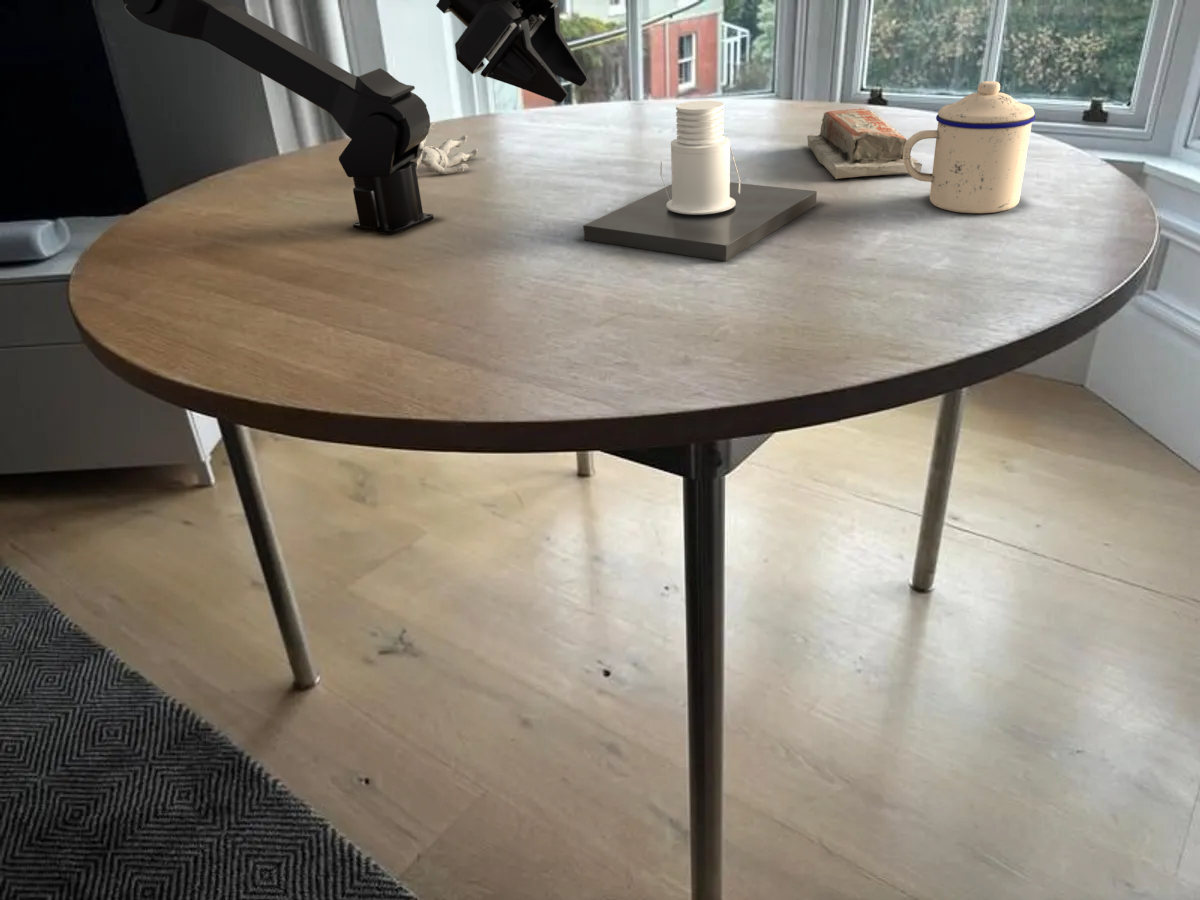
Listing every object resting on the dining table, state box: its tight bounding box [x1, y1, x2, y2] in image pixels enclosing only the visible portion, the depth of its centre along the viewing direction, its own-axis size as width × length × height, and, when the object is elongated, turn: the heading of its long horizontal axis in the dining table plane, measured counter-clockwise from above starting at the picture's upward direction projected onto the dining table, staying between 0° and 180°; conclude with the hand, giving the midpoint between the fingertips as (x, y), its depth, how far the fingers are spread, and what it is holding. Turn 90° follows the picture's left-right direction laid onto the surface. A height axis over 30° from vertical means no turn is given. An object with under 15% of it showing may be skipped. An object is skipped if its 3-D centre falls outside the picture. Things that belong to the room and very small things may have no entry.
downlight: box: [659, 100, 742, 214], centre depth 92 cm, size 8×7×10 cm
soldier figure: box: [411, 122, 479, 175], centre depth 123 cm, size 8×5×12 cm
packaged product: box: [806, 108, 923, 180], centre depth 113 cm, size 18×5×10 cm
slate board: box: [582, 181, 818, 262], centre depth 95 cm, size 20×16×2 cm
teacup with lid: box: [903, 80, 1036, 214], centre depth 93 cm, size 12×9×12 cm
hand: (575, 90), depth 91 cm, fingers open, 9 cm apart
